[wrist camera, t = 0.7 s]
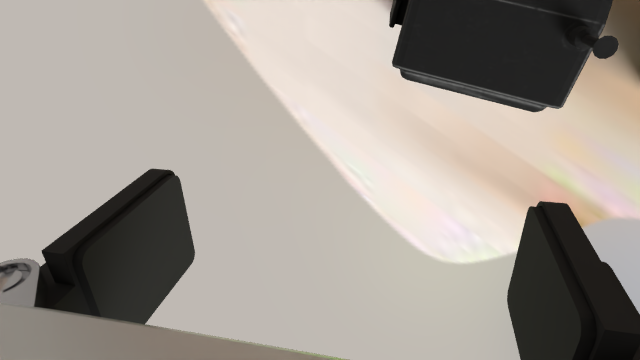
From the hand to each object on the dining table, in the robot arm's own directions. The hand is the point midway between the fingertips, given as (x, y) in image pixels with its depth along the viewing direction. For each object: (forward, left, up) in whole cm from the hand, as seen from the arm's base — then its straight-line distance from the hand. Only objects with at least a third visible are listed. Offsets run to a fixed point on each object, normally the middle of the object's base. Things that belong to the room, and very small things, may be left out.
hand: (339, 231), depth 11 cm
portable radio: (-5, 0, -31) cm, 31 cm away
